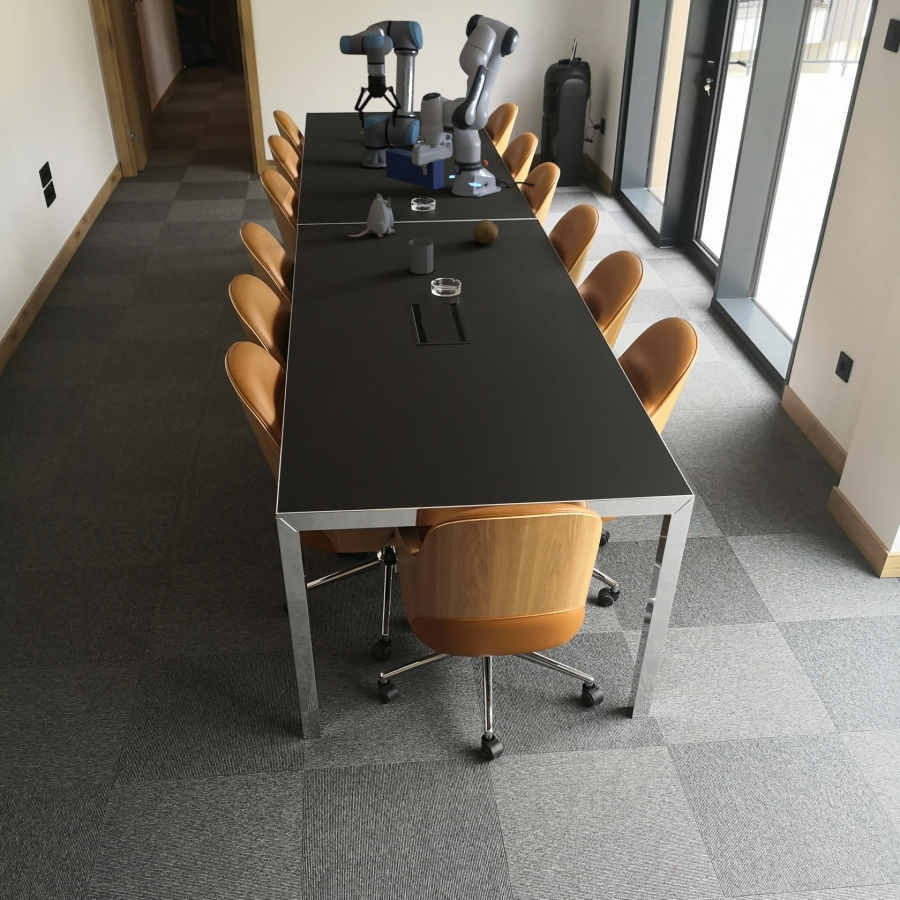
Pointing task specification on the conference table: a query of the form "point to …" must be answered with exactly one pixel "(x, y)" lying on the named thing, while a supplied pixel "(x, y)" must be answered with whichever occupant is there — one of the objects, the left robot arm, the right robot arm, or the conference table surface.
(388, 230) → the toy
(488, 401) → the conference table surface
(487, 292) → the conference table surface
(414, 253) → the cup
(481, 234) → the potato
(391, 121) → the left robot arm
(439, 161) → the box
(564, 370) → the conference table surface
